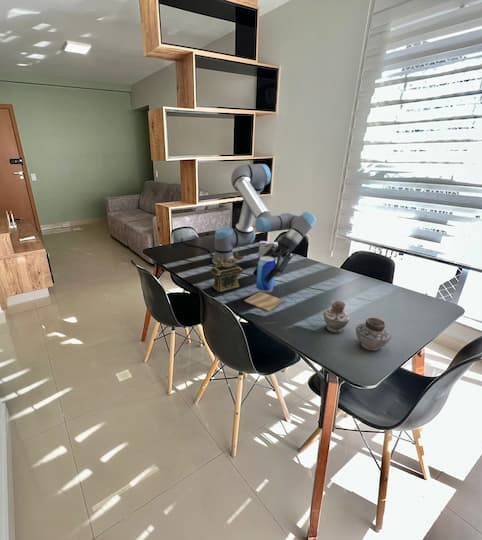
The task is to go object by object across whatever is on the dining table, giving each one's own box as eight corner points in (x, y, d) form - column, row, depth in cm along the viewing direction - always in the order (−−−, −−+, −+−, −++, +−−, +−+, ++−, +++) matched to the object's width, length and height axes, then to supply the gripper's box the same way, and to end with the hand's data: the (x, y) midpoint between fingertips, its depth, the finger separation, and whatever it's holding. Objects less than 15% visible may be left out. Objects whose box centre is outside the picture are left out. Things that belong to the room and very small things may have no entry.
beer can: (263, 294, 135) (265, 262, 129) (252, 287, 142) (254, 257, 136) (277, 290, 138) (280, 259, 132) (266, 284, 145) (268, 254, 139)
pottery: (330, 319, 126) (334, 295, 122) (392, 347, 107) (400, 320, 103) (315, 328, 120) (319, 303, 115) (378, 360, 101) (385, 331, 97)
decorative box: (217, 293, 151) (217, 258, 144) (208, 286, 159) (208, 253, 152) (248, 285, 159) (250, 252, 152) (238, 279, 167) (239, 247, 160)
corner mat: (243, 301, 143) (243, 300, 142) (260, 292, 152) (260, 291, 151) (267, 311, 133) (267, 310, 133) (283, 301, 142) (284, 300, 142)
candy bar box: (276, 266, 186) (278, 241, 180) (274, 268, 182) (277, 244, 176) (258, 264, 190) (260, 240, 184) (257, 266, 186) (258, 242, 180)
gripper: (310, 251, 129) (278, 290, 129) (279, 240, 147) (251, 274, 147) (302, 242, 125) (269, 282, 125) (272, 231, 143) (243, 266, 143)
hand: (259, 277), depth 136 cm, fingers closed on beer can, 8 cm apart
